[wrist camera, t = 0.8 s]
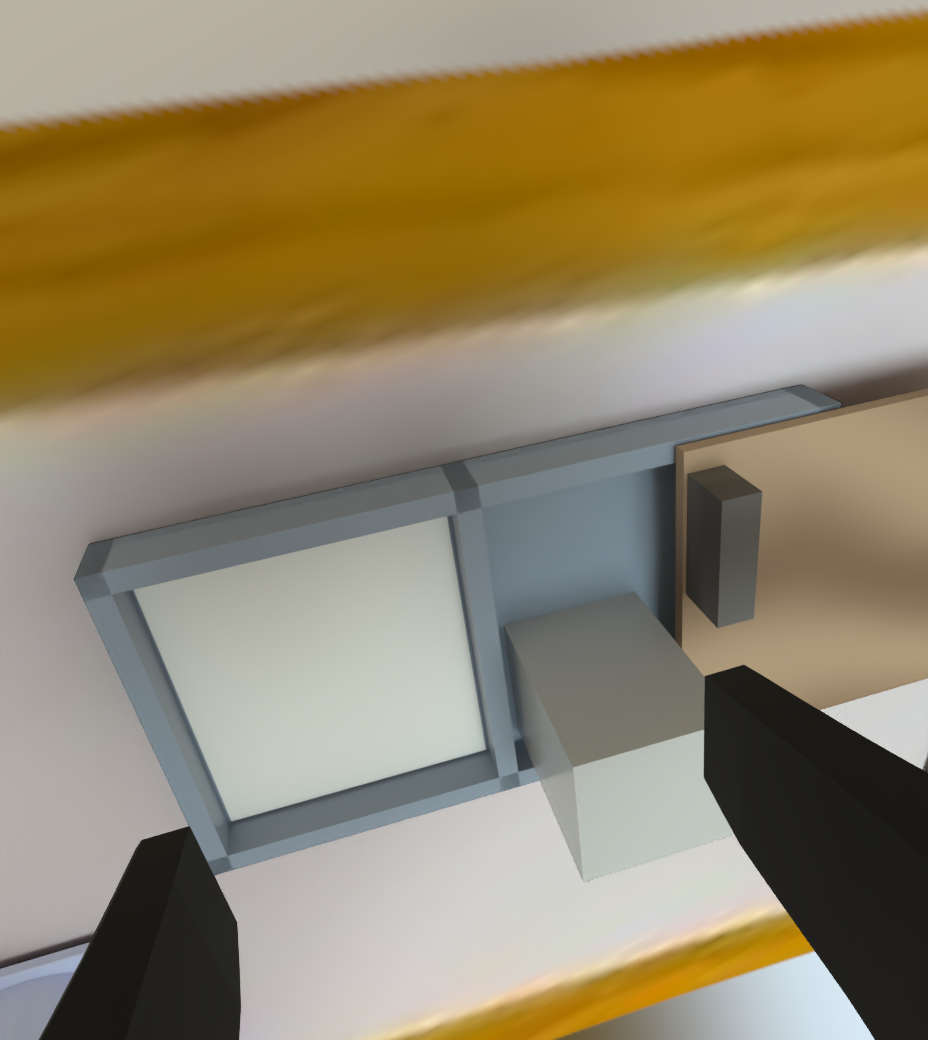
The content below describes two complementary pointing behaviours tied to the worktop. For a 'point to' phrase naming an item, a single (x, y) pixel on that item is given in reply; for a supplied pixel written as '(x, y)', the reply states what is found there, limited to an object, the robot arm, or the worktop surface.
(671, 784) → the block
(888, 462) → the door
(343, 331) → the worktop surface
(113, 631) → the tray
